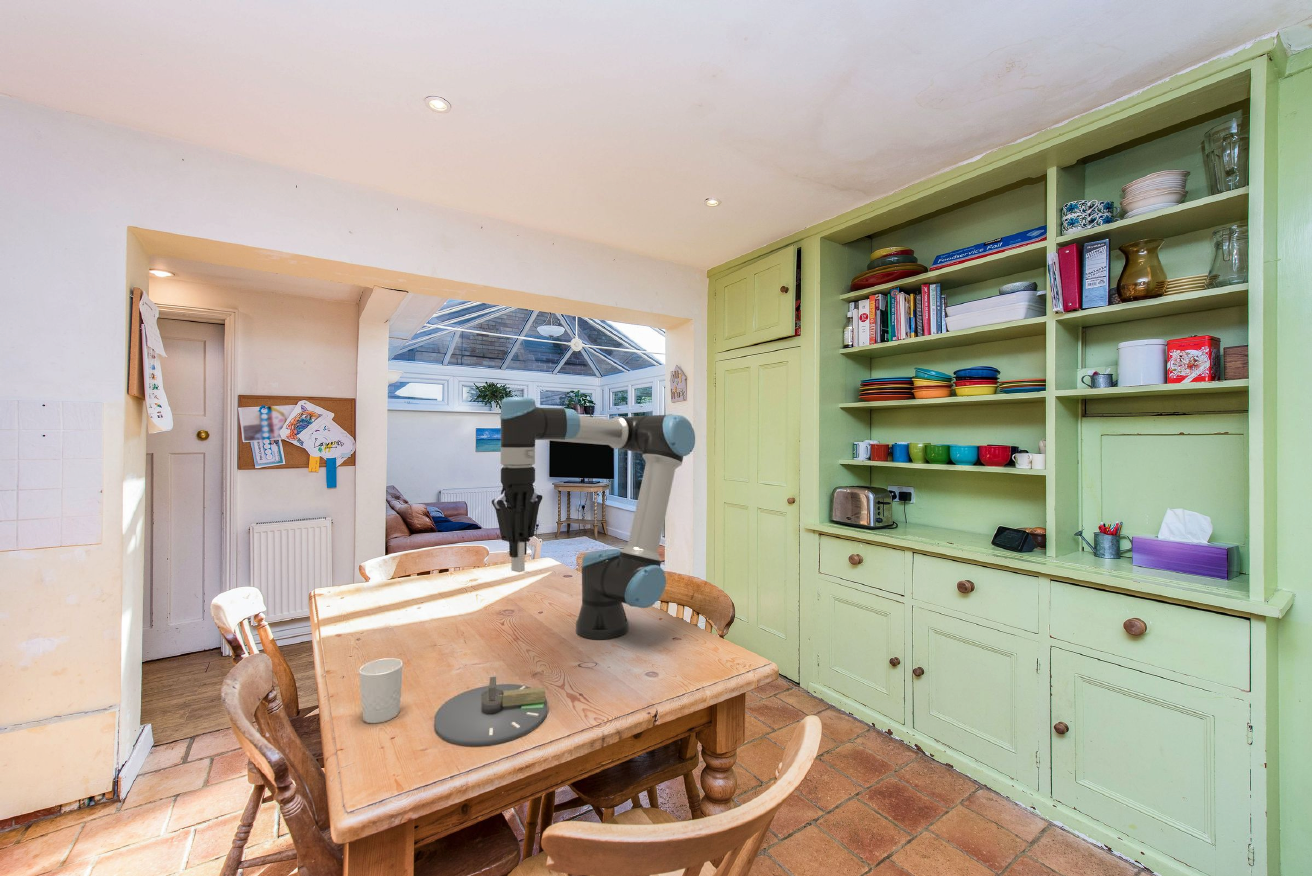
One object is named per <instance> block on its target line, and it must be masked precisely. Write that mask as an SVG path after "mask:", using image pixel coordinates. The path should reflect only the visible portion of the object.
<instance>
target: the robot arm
mask: <svg viewBox="0 0 1312 876" xmlns="http://www.w3.org/2000/svg"><path fill="white" fill-rule="evenodd" d="M500 405H501V406H500V415H499V419H500V464H501V466H503V467H501V468H500V483H501V484H502V488H501V490H500V496H498V498H493V499H492V500H491V504H492V506H493V507H494V510H495V515H496V518H497V523H498V529H499V533H500V538H501V541H503V542H507V543H508V545H509V549H508V551H509V552H508V553H509V554H508V555H509V557H510V558H511V559H510V560H511V562H510V563H511V564H510V565H511V567H510V568H511V569H510V570H511V572H512V571H513V572H517V573H522V572H525V569H526V568H525V565H526V563H525V561H526V558H525V557H526V555H527V546H528V545H527V543H529V542H530V541H531V538H533V537H534V536H535V531H536V527H537V522H538V521H537V519H538V515H539V509H540V508H539V507H540V505H541V502H542V501H543V495H542V494H538V493H536V492H535V491H536V490H535V488H534V484H535V483H536V468H535V467H534V466H533V465H535V464H536V441H540V440H541V441H552V442H553V441H554V442H566V443H567V442H568V443H576V444H577V443H579V444H593V445H604V446H605V445H607V446H609V447H610V448H612V449H614V450H615V449H616V450H623V451H629V452H634V453H638V454H642V459H643V460H644V461H645V466H644V471H643V475H642V481H641V484H640V489H639V492H638V498H637V502H636V506H635V511H634V515H633V520H632V524H631V529H630V534H629V537H628V542H627V545H626V547H624V548H623V549H617V548H615V549H613V548H612V549H611V548H609V549H608V548H607V549H600V550H593V551H589V552H586V553H585V554H583V557H582V563H581V606H580V610H579V613H578V618H577V620H576V622H575V633H576V634H577V635H578V636H579V637H582V638H586V639H589V640H609V639H616V638H619V637H621V636H624V635H625V634H626V633H628V631H629V621H628V618H627V613H626V612H625V611H626V610H625V608H624V605H623V604H626V605H628V606H630V607H635V608H640V609H648V608H650V607H652V606H654V605H655V603H656V602H658V601H659V600H660V598H661V597H662V596H663V594H664V591H665V589H666V586H667V577H666V572H665V570H664V569H663V568H662V567H661V564H662V558H661V556H660V554H659V549H660V547H659V546H660V543H661V540H662V539H661V538H662V534H663V528H664V524H665V519H666V514H667V510H668V505H669V501H670V495H671V492H672V487H673V481H674V477H675V473H676V470H677V469H679V467H681V466H682V464H683V460H684V457H687V456H689V455H690V454H691V453H692V452H693V450H694V448H695V444H696V434H695V433H696V432H695V429H694V428H693V424H692V423H691V421H690V420H689V419H688V418H687V417H686V416H684V415H679V414H672V413H671V414H669V413H668V414H655V415H654V414H650V415H649V414H647V415H646V414H645V415H637V416H615V417H613V418H603V417H596V416H595V417H593V416H586V415H579V414H578V412H577V411H576V409H575V410H574V409H572V408H565V407H538V406H537V405H536V400H535V399H534V398H533V397H524V396H522V397H518V396H517V397H516V396H515V397H513V396H511V397H504V398H503V399H502V400H501V404H500Z"/></svg>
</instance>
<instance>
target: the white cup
mask: <svg viewBox="0 0 1312 876" xmlns="http://www.w3.org/2000/svg"><path fill="white" fill-rule="evenodd" d="M358 671H359V672H358V673H359V690H360V691H359V692H360V703H361V704H360V705H361V709H362V710H361V711H362V721H364V722H365V723H367V724H380V723H384V722H388V721H390V720H392V719H394V718H395V717H397V716H398V714H399V713H400V712H401V696H402V686H403V685H402V684H403V661H402V660H401V659H399V658H395V657H394V658H392V657H391V658H390V657H387V658H386V657H385V658H380V659H375V660H372V661H369V662H367V663H365V664H363V665H362V666H361V667H359V670H358Z"/></svg>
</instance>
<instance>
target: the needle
mask: <svg viewBox="0 0 1312 876" xmlns="http://www.w3.org/2000/svg"><path fill="white" fill-rule="evenodd" d="M496 685H497V676H491V677H489V684H488V686H489V690H487V691H485V692H483V693H482V694H481V711H482V712H484V713H496V712H498V711H500V710H502V709H503V707H504V706H512V705H521V704H529V703H538V702H545V697H546V686H540V687H531V688H528V689H518V690H509V691H502V690H500V689H496Z"/></svg>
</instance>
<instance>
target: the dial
mask: <svg viewBox="0 0 1312 876" xmlns="http://www.w3.org/2000/svg"><path fill="white" fill-rule="evenodd" d="M528 688H532V687H531V686H526V685H522V684H514V683H500V684H497V683H496V689H500V690H502V691H509V690H518V689H528ZM487 690H489V685H484V686H480V687H475V688H472V689H468V690H466V691H464V692H461V693H458V694H457V695H454V696H453V697H451V698H449V699H448V700H447V701H445V702H444V703H443V704H441V706H440V707H438V709H437V710H436V712H435V715H434V720H433V727H434V731H435V733H436V735H437V736H438V738H441V739H442V740H443V741H445V742H448V743H450V744H453V745H457V746H462V747H463V746H464V747H488V746H494V745H495V746H496V745H499V744H503V743H504V744H505V743H507V742H511V741H514V740H516V739H519V738H521V737H523V736H526V735H528V734H529V733H531V732H533V731H534V730H535V729H537V728H538V727H539V726H540V725H541V724H542V723H543V721H544V720H546V717H547V715H548V700H547V698H546V696H545V702H538V703H529V704H521V705H512V706H504V707H503V709H502V710H500V711H498V712H496V713H484V712H482V711H481V694H482V693H483V692H485V691H487Z"/></svg>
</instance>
